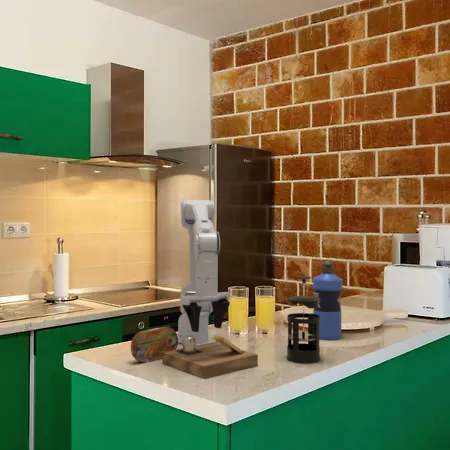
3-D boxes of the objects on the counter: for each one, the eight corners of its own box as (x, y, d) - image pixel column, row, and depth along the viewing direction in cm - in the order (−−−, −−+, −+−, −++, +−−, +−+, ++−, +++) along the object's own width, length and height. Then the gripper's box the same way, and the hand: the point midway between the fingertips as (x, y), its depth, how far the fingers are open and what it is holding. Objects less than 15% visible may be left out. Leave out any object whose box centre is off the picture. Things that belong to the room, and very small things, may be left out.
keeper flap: (212, 338, 149) (214, 334, 149) (232, 351, 154) (234, 348, 154) (222, 340, 146) (224, 337, 146) (242, 354, 151) (244, 351, 151)
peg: (180, 362, 153) (180, 336, 153) (190, 360, 155) (190, 334, 155) (188, 365, 150) (188, 339, 150) (199, 363, 153) (199, 337, 153)
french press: (309, 366, 150) (310, 279, 150) (278, 360, 156) (279, 276, 155) (329, 357, 160) (330, 275, 159) (299, 351, 165) (300, 272, 165)
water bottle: (338, 334, 190) (338, 259, 189) (344, 340, 180) (345, 261, 180) (310, 334, 189) (310, 258, 189) (315, 340, 180) (316, 261, 179)
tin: (135, 365, 150) (136, 333, 150) (128, 363, 152) (128, 331, 152) (178, 355, 161) (179, 325, 161) (171, 353, 163) (171, 323, 163)
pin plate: (162, 363, 152) (162, 352, 152) (214, 352, 164) (214, 342, 164) (204, 378, 139) (204, 366, 138) (257, 365, 150) (257, 354, 150)
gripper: (194, 281, 142) (193, 335, 142) (237, 277, 152) (237, 328, 152) (177, 278, 147) (177, 331, 148) (220, 275, 157) (220, 324, 157)
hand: (206, 329), depth 150 cm, fingers open, 7 cm apart
